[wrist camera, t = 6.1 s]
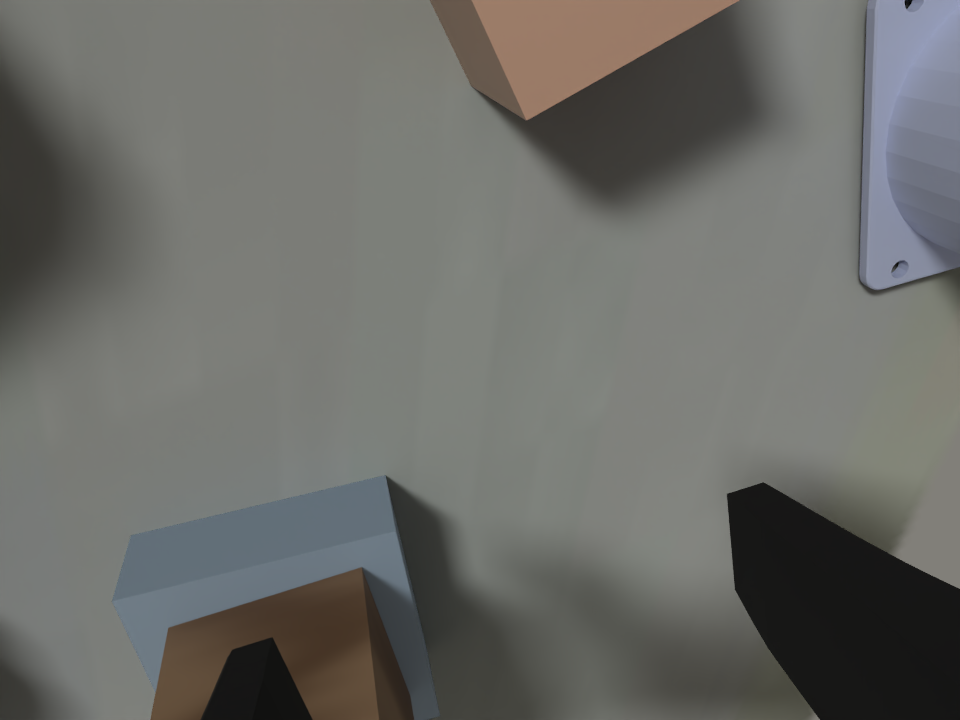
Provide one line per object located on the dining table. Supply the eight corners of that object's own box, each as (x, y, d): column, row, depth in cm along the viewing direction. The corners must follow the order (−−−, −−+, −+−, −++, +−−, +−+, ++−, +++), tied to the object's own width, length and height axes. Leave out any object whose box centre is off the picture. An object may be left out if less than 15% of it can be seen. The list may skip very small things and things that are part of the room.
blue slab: (383, 466, 23) (395, 531, 20) (425, 640, 26) (440, 716, 23) (133, 525, 22) (111, 601, 19) (208, 698, 25) (198, 783, 22)
